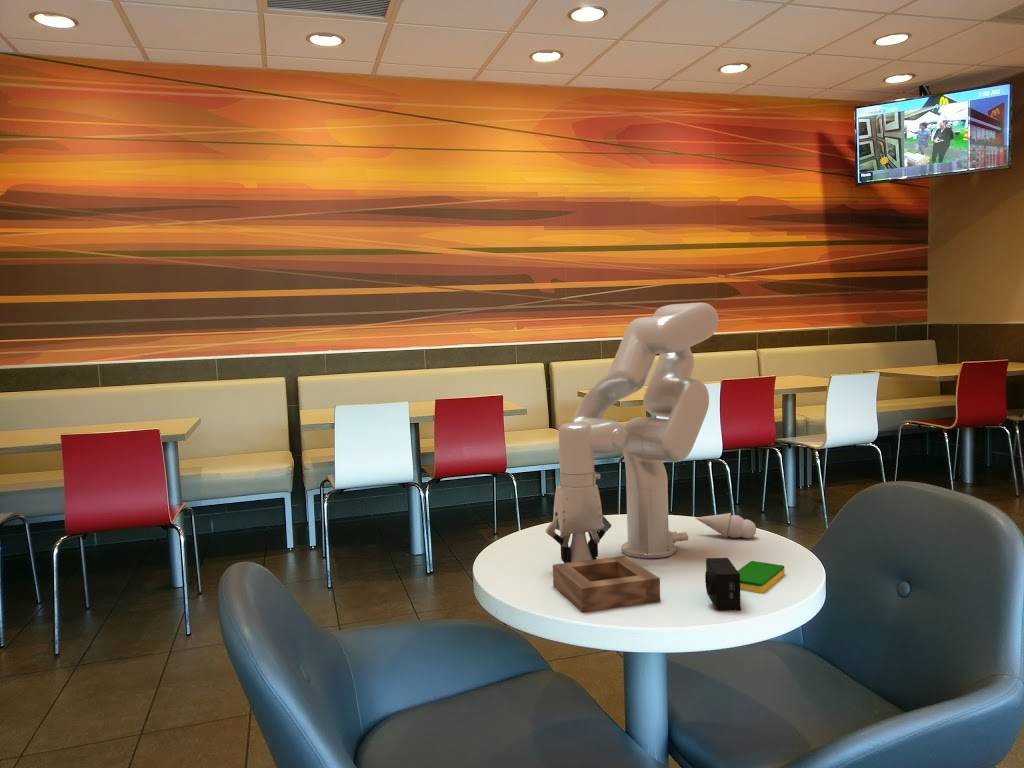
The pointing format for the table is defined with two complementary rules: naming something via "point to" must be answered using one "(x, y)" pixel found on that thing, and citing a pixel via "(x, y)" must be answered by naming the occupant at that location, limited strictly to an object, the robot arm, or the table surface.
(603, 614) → the table surface
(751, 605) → the table surface
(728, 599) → the digital camera
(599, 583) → the condiment dock
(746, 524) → the ice cream cone
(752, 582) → the dish sponge
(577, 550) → the flask
